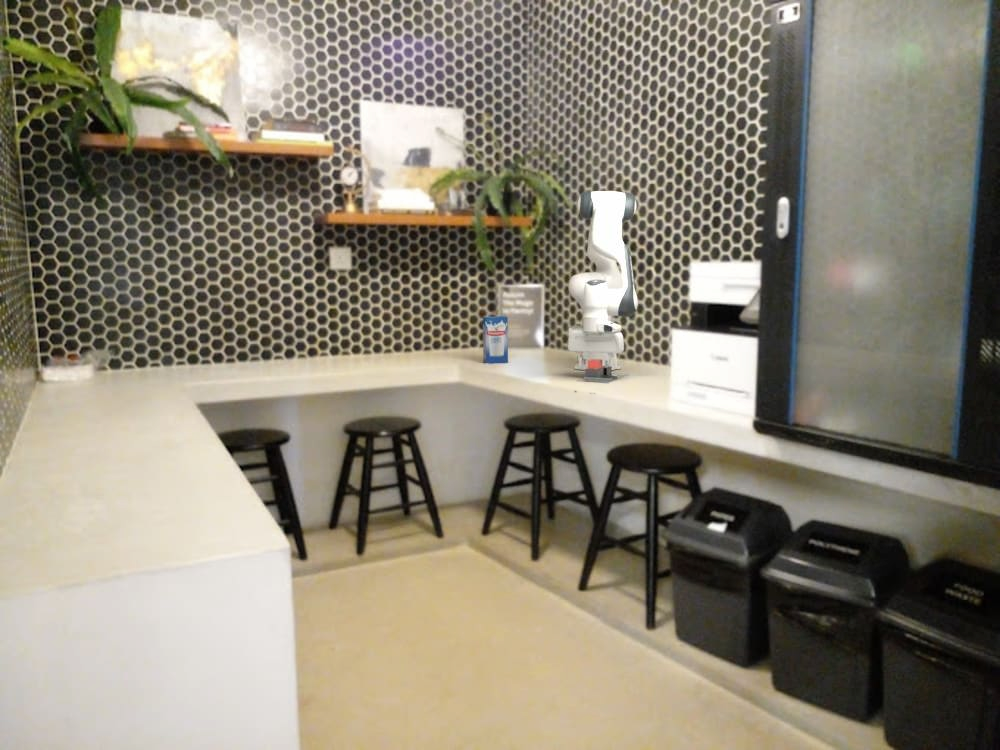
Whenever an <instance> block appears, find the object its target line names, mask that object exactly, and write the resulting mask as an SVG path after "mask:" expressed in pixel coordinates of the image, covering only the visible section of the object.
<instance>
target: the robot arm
mask: <svg viewBox="0 0 1000 750" xmlns="http://www.w3.org/2000/svg"><path fill="white" fill-rule="evenodd" d="M576 203H577V205H576V206H577V212H578V215H579V216H580V217H581V218H582V219H585V220H590V225H589V230H588V238H587V239H588V240H587V250H586V255H587V257H588V259H589V260H590V261H592V262H593V263H594V264H595V267H596V272H594V271H593V272H590V271H589V272H586V271H585V272H581V273H576V274H574V275H572V276H571V278H570V279H569V283H568V292H569V294H570V296H571V297H572V298H573V299H575V300H576V302H577V304H578V305H579V306H580V308H581V312H582V315H583V316H582V324H583V325H572V326H570V327H569V328H568V333H567V335H568V342H567V349H568V351H569V352H576V353H577V354H576V355H577V363H576V364H575V365H574V367H573V368H574V370H582V371H585V369H587V368H588V360H591V359H602V364H603V366H612V371H614V370H620V369H622V367H621V365H618V364H617V362H618V361H617V354H621V353H623V352H624V350H625V342H624V336H623V333H622V332H621V331H622V326H621V325H620V324H617V323H615V322H613V319H612V316H614V317H624V318H630V317H631V316H632V315H634V314H636V312H637V311H638V306H639V305H638V304H639V303H638V302H639V300H638V296H637V291H636V285H635V283H636V282H635V276H634V275H635V274H634V267H633V260H632V254H631V250H630V247H629V246H628V245H627V244H625V243H624V241H623V236H622V233H623V224H624V223H625V222H628V221H630V220H631V219H633V217H634V215H635V213H636V211H637V201H636V197H635V195H634V194H633V193H631V192H621V191H616V190H597V191H593V190H586V191H583V192H582V193H581V194H580V195H579V198H578V201H577V202H576ZM618 265H619V266H620V269H619V267H618Z"/></svg>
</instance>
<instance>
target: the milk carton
mask: <svg viewBox="0 0 1000 750" xmlns="http://www.w3.org/2000/svg"><path fill="white" fill-rule="evenodd" d="M508 318H509V317H508V316H502V315H501V316H482V341H483V342H482V346H483V347H482V350H483V351H482V352H483V355H482V356H483V357H482V358H483V363H484V362H485V364H486V363H490V364H508V363H509V346H508V345H509V343H508V342H509V333H508V332H509V331H508V329H509V328H508V326H509V324H508V323H509V322H508V321H509V319H508Z"/></svg>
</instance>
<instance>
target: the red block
mask: <svg viewBox="0 0 1000 750" xmlns="http://www.w3.org/2000/svg"><path fill="white" fill-rule="evenodd" d="M600 368H603V364H602V359H591V360H588V369H600Z"/></svg>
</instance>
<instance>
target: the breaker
mask: <svg viewBox="0 0 1000 750" xmlns="http://www.w3.org/2000/svg"><path fill="white" fill-rule="evenodd" d="M584 371H585V372H584V377H597V378H603V368H600V369H588V368H587V369H585V370H584Z"/></svg>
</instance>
